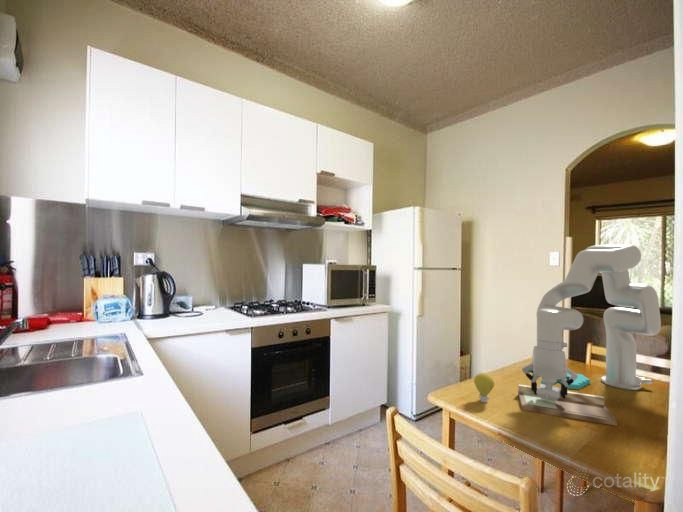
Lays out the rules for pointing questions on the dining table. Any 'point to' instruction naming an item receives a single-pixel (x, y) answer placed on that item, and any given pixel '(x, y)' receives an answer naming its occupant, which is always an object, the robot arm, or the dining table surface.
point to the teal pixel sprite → (577, 383)
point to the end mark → (538, 401)
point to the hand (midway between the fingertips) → (548, 394)
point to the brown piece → (572, 406)
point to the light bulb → (484, 385)
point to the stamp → (548, 390)
